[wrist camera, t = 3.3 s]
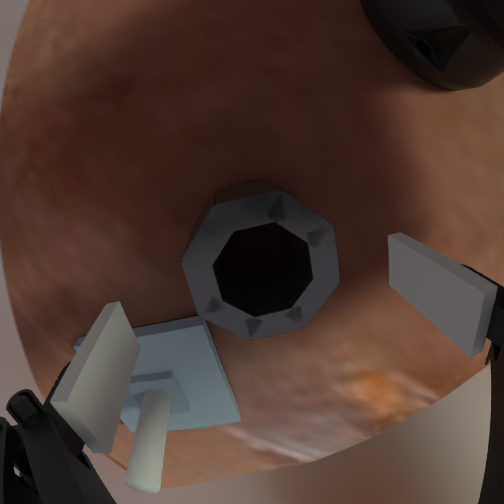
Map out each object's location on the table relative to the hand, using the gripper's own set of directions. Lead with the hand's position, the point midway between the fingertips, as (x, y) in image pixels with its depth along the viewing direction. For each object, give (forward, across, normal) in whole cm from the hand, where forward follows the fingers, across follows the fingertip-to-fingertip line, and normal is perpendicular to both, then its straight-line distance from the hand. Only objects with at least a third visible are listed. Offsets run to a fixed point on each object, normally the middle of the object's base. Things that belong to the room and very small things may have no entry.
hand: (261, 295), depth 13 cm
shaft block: (+8, -10, -11) cm, 17 cm away
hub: (+8, +1, 0) cm, 8 cm away
